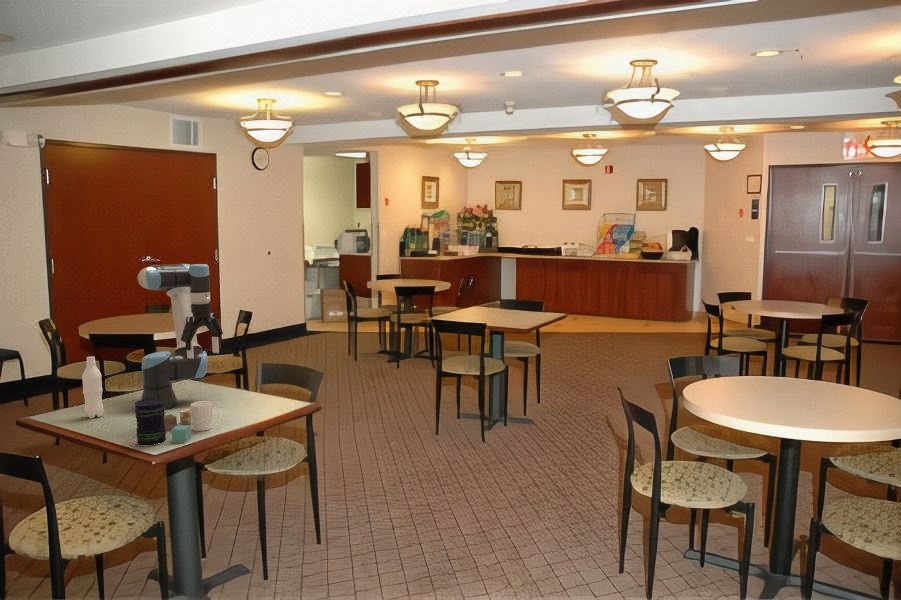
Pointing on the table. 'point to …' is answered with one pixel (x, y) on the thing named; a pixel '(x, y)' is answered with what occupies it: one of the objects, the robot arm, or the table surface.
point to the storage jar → (150, 421)
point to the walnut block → (170, 422)
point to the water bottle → (92, 389)
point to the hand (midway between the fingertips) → (203, 355)
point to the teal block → (181, 433)
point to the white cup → (201, 415)
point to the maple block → (186, 417)
